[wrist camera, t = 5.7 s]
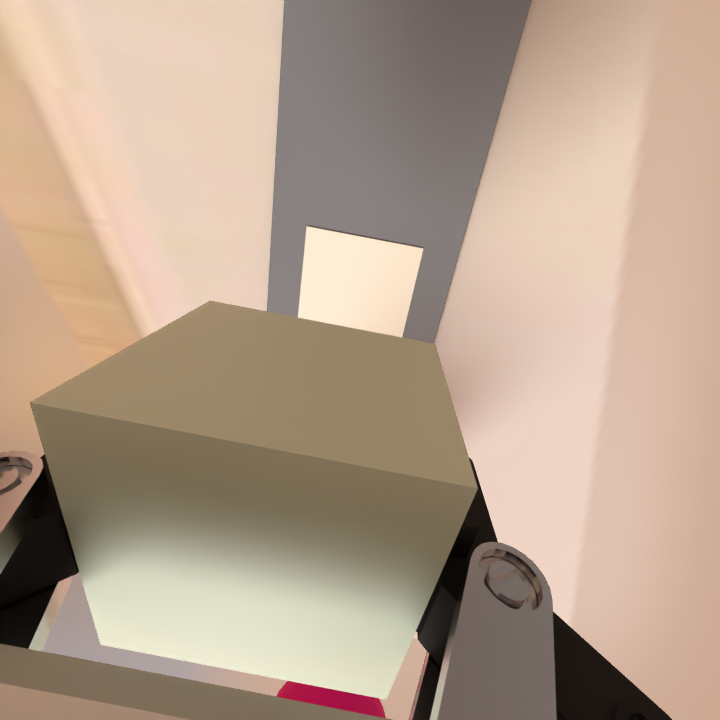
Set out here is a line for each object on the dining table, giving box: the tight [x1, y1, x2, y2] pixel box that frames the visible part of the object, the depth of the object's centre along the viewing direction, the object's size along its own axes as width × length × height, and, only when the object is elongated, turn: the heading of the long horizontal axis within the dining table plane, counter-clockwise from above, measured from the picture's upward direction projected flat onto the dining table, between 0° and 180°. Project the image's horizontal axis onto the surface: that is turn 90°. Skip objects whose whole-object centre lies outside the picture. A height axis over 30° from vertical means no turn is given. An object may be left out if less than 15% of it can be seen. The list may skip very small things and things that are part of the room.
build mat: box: [267, 0, 531, 343], centre depth 20 cm, size 28×12×1 cm, turn 170°
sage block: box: [30, 301, 478, 699], centre depth 8 cm, size 6×6×5 cm
